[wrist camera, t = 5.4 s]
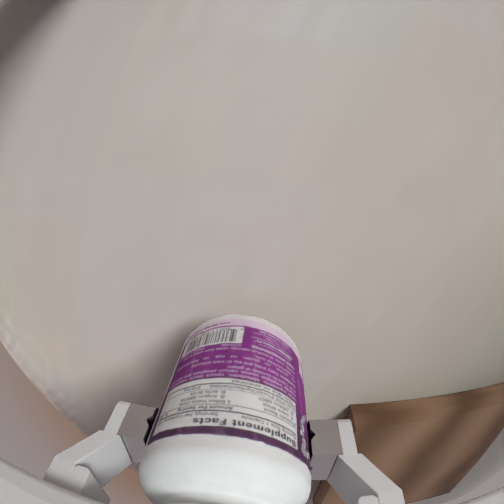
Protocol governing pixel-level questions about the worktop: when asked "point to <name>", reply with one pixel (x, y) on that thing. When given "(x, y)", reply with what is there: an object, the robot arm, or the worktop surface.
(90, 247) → the worktop surface
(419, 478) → the walnut board
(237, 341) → the pill bottle
